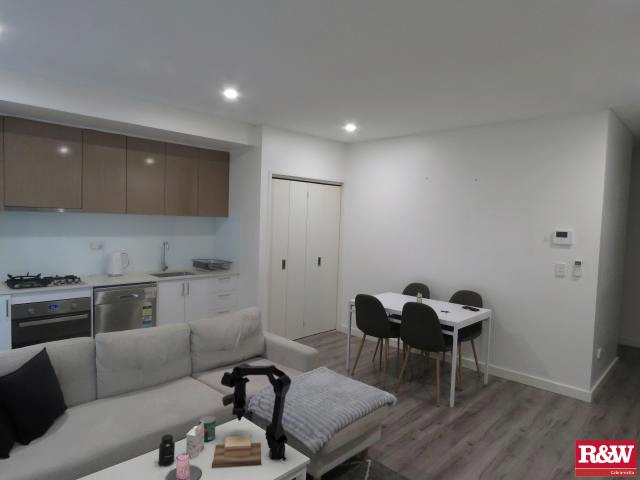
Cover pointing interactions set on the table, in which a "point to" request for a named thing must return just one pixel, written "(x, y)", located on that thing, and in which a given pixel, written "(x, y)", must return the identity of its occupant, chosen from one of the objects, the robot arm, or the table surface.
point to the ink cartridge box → (195, 440)
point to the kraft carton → (237, 446)
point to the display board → (237, 461)
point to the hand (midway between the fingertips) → (239, 420)
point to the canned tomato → (208, 427)
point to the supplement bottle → (166, 450)
